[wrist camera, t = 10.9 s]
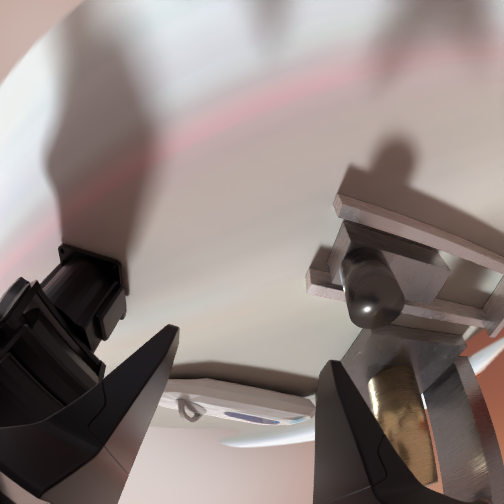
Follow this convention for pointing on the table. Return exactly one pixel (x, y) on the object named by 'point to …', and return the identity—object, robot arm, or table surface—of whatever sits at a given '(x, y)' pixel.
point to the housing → (404, 420)
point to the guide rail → (500, 302)
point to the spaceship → (234, 402)
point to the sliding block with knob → (383, 274)
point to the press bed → (439, 403)
